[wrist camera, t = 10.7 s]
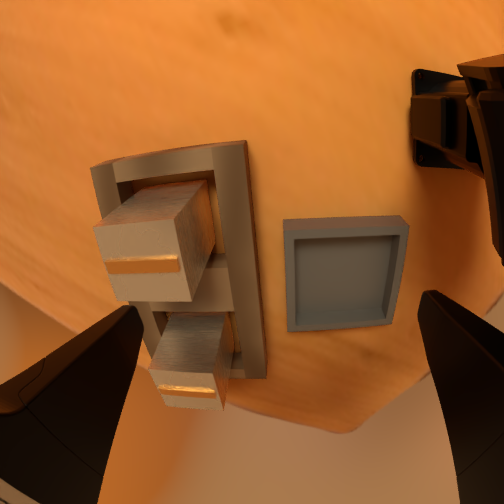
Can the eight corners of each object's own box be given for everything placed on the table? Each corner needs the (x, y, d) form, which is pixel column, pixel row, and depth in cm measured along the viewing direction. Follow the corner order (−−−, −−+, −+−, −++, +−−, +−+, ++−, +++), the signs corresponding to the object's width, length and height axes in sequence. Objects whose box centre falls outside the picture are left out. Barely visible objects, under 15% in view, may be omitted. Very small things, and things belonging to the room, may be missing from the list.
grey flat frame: (246, 140, 18) (243, 144, 16) (267, 361, 26) (266, 378, 25) (104, 161, 19) (90, 168, 17) (164, 359, 27) (158, 374, 26)
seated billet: (206, 179, 19) (172, 221, 13) (215, 240, 21) (190, 303, 15) (145, 186, 19) (90, 228, 13) (157, 244, 21) (116, 302, 15)
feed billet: (227, 305, 24) (212, 375, 17) (234, 344, 26) (223, 412, 19) (175, 305, 24) (147, 371, 18) (186, 343, 26) (166, 407, 20)
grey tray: (399, 215, 19) (409, 225, 17) (385, 309, 23) (391, 323, 21) (283, 219, 20) (283, 230, 18) (287, 316, 24) (287, 331, 22)
